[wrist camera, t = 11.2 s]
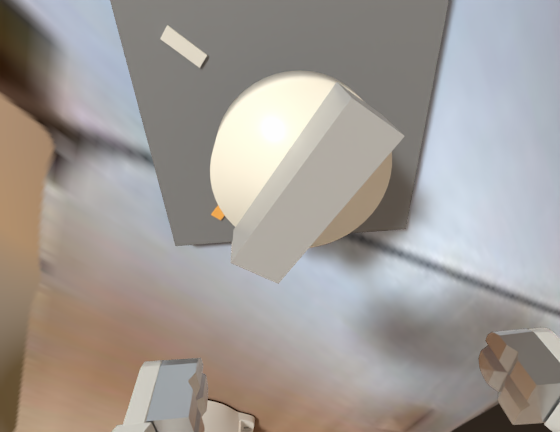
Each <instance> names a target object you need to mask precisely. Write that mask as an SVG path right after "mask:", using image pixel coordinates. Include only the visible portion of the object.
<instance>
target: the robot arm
mask: <svg viewBox="0 0 560 432" xmlns="http://www.w3.org/2000/svg"><path fill="white" fill-rule="evenodd" d="M485 341H486V342H487V344H488V346H487V347H485V348H484V349H483V350H481V352H480V355H479V358H478V359H479V367H480V370H481V373H482V375H483V377H484V379H485V381H486V382H487V384H488V385H489V386H490V387H492V388H493V389H495V390H496V391H498V402H499V404H500V405H501V407H502V408H503V410H504V412H505V413H506V415H507V416H508V418H509V420H510V421H511V423H512V424H513V425H519V424H533V423H545V424H544V425H545V426H546V427H548V428H549V429H550V430H551V431H552V432H560V339H559V338H558V337H557V336H556V335H555V334H554V333H553V332H552V331H551V330H550V329H548V328H543V327H541V328H532V329H516V330H506V331H497V332H491V333H490V334H488V336H487V338H486V340H485ZM202 370H203V363H202V360H201V358H191V359H176V360H160V361H149V362H144V364H143V365H142V367H141V368H140V371H139V375H138V378H137V381H136V384H135V387H134V391H133V394H132V397H131V400H130V404H129V407H128V410H127V413H126V416H125V420H124V423H123V425H117V426H116V427H115V428H114V429H113V430H112V431H111V432H253V429H254V424H255V418H254V417H253V416H251V415H248V414H244V413H240V412H237V411H235V410H233V409H231V408H230V407H228V406H226V405H223V404H221V403H217V402H214V401H208V384H207V378H206V375H205V374H204V373H202Z"/></svg>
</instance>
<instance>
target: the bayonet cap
mask: <svg viewBox="0 0 560 432" xmlns="http://www.w3.org/2000/svg"><path fill="white" fill-rule="evenodd" d="M403 138H404V135H403V134H402V133H401V132H400V131H399V130H398V129H397V128H396V127H395V126H394V125H393V124H391V123H390V122H389V121H388V120H387V119H386V118H385V117H384V116H383V115H382V114H380V113H379V112H378V111H376V110H375V109H373V108H372V107H371V106H369V105H368V104H367V103H365V102H364V101H363V100H362V99H361V98H360V97H359V96H358V95H357V94H356V93H355V92H354V91H353V90H352V89H350V88H349V87H348V86H346V85H345V84H344V83H342V82H340V81H339V80H337V79H335V78H333V77H330V76H328V75H325V74H322V73H317V72H313V71H301V70H299V71H287V72H282V73H277V74H274V75H271V76H268V77H266V78H263V79H262V80H260V81H258V82H256V83H254V84H253V85H251V86H250V87H248V88H247V89H246V90H244V91H243V92H242V93H241V94H240V95H239V96H238V97H237V98H236V99H235V100H234V101H233V103H232V104H231V105H230V106H229V108H228V110H227V111H226V113H225V115H224V116H223V119H222V121H221V123H220V126H219V129H218V133H217V137H216V140H215V144H214V148H213V152H212V156H211V163H210V180H211V186H212V191H213V194H214V197H215V199H216V202H217V204H218V206H219V208H220V209H221V211H222V212H223V214H224V215H225V217H226V218H227V219H228V220H229V221H230V222H231V223H232V225H234V226H235V228H234V230H233V241H232V248H231V251H232V252H231V263H232V264H234V265H237V266H239V267H241V268H243V269H246V270H248V271H250V272H253V273H255V274H257V275H260V276H262V277H264V278H266V279H269V280H271V281H273V282H276V283H279V282H280V281H281V280H282V279H283V278H284V276H285V275H286V274H287V273H288V272H289V271H290V269H291V268H292V267H293V266H294V265H295V264H296V262H297V261H298V260H299V259H300V258H301V257H302V255H303V254H304V253H305V252H306V251H307V250H308V248H312V247H317V246H321V245H325V244H328V243H331V242H333V241H336V240H338V239H340V238H342V237H344V236H346V235H348V234H349V233H350V232H352V231H353V230H355V229H356V228H358V227H359V226H360V225H361V224H362V223H364V222H365V221H366V220H367V218H368V217H369V216H370V215H371V214H372V213H373V212H374V210H375V209H376V208H377V206H378V205H379V203H380V201H381V200H382V198H383V196H384V194H385V192H386V189H387V187H388V183H389V180H390V176H391V169H392V150H393V149H394V148H395V147H396V146H397V145H398V143H399V142H400V141H401V140H402V139H403Z"/></svg>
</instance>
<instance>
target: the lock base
mask: <svg viewBox="0 0 560 432" xmlns="http://www.w3.org/2000/svg"><path fill="white" fill-rule="evenodd" d="M110 1H111V5H112V9H113V13H114V16H115V20H116V24H117V28H118V31H119V35H120V39H121V43H122V46H123V50H124V54H125V58H126V62H127V65H128V69H129V73H130V77H131V80H132V84H133V88H134V92H135V95H136V99H137V103H138V107H139V110H140V114H141V118H142V122H143V125H144V129H145V133H146V137H147V140H148V144H149V148H150V152H151V155H152V159H153V163H154V167H155V170H156V174H157V178H158V182H159V185H160V189H161V193H162V197H163V200H164V204H165V208H166V212H167V215H168V219H169V223H170V227H171V230H172V234H173V238H174V242H175V246H182V245H196V244H210V243H223V242H232V241H233V230H234V228H235V226H234V225H232V223H231V222H230V221H229V220H228V219H227V218H226V217H225V215H224V214H223V212H222V211H221V209H220V208H219V206H218V204H217V202H216V199H215V197H214V194H213V191H212V186H211V180H210V163H211V156H212V152H213V148H214V144H215V140H216V137H217V133H218V129H219V126H220V123H221V121H222V119H223V116H224V115H225V113H226V111H227V110H228V108H229V106H230V105H231V104H232V103H233V101H234V100H235V99H236V98H237V97H238V96H239V95H240V94H241V93H242V92H243V91H244V90H246V89H247V88H248V87H250V86H251V85H253V84H254V83H256V82H258V81H260V80H262V79H263V78H266V77H268V76H271V75H274V74H277V73H282V72H287V71H299V70H301V71H313V72H317V73H322V74H325V75H328V76H330V77H333V78H335V79H337V80H339V81H340V82H342V83H344V84H345V85H346V86H348V87H349V88H350V89H352V90H353V91H354V92H355V93H356V94H357V95H358V96H359V97H360V98H361V99H362V100H363V101H364V102H365V103H367V104H368V105H369V106H371V107H372V108H373V109H375V110H376V111H378V112H379V113H380V114H382V115H383V116H384V117H385V118H386V119H387V120H388V121H389V122H390V123H391V124H393V125H394V126H395V127H396V128H397V129H398V130H399V131H400V132H401V133H402V134H403V135H404V138H403V139H402V140H401V141H400V142H399V143H398V145H397V146H396V147H395V148H394V149H393V150H392V169H391V176H390V180H389V183H388V187H387V189H386V192H385V194H384V196H383V198H382V200H381V201H380V203H379V205H378V206H377V208H376V209H375V210H374V212H373V213H372V214H371V215H370V216H369V217H368V218H367V220H366V221H365V222H364V223H362V224H361V225H360V226H359V227H358V228H356V229H355V230H353V231H352V232H350V233H359V232H373V231H387V230H400V229H406V224H407V219H408V213H409V208H410V203H411V198H412V192H413V187H414V182H415V176H416V171H417V166H418V161H419V155H420V150H421V145H422V140H423V134H424V129H425V124H426V118H427V113H428V108H429V103H430V97H431V92H432V87H433V82H434V76H435V71H436V66H437V60H438V55H439V50H440V45H441V39H442V34H443V29H444V24H445V18H446V13H447V8H448V2H449V0H110Z"/></svg>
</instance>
